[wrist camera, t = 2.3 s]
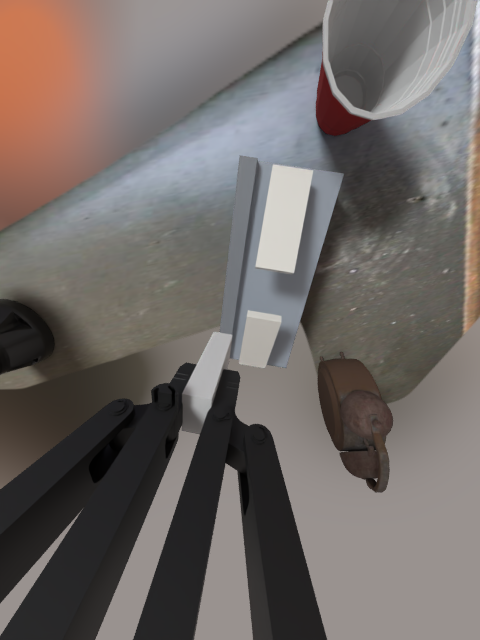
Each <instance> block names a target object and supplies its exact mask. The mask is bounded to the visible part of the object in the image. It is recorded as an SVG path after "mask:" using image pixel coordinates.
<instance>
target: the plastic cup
mask: <svg viewBox="0 0 480 640" xmlns="http://www.w3.org/2000/svg"><path fill="white" fill-rule="evenodd" d="M476 4H477V0H328V4H327V7H326V11H325V15H324V19H323V52H322V64H321V70H320V76H319V82H318V88H317V100H316V118H317V121H318V124H319V126H320V128H321V129H322V130H323V131H324V132H325V133H326V134H329V135H333V136H337V135H341V134H346V133H347V132H349V131H351V130H353V129H356V128H358V127H360V126H362V125H364V124H365V123H367V122H369V121H371V120H372V121H373V120H377V119H382V118H387V117H391V116H396V115H400V114H403V113H404V112H405V111H407V110H408V109H410V108H411V107H413V106H414V105H416V104H417V103H418V102H420V101H421V100H423V99H424V98H426V97H427V96H429V94H430V93H431V92H432V91H433V89H434V88H435V87H436V86H437V84H438V83H439V82H440V81H441V79H442V78H443V77H444V76H445V74H446V73H447V72H448V71H449V70H450V68H451V67H452V66H453V64H454V62H455V60H456V58H457V56H458V54H459V52H460V50H461V47H462V45H463V43H464V41H465V39H466V37H467V35H468V33H469V30H470V28H471V26H472V24H473V19H474V14H475V9H476Z"/></svg>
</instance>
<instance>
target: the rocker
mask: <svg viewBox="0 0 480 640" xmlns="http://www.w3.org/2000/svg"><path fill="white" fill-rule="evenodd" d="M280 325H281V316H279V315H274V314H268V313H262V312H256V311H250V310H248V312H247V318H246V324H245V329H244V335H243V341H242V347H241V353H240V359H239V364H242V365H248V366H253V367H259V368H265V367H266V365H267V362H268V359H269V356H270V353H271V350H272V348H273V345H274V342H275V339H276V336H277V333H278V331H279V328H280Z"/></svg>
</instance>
